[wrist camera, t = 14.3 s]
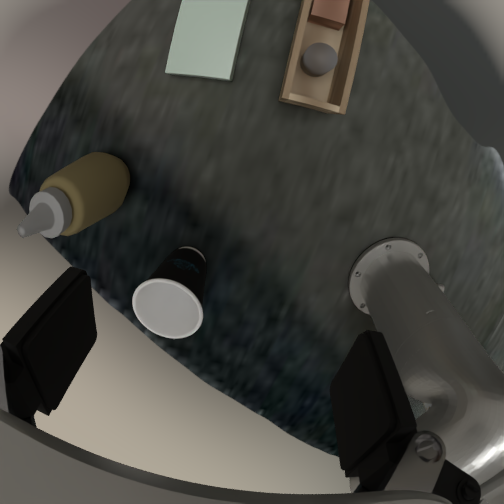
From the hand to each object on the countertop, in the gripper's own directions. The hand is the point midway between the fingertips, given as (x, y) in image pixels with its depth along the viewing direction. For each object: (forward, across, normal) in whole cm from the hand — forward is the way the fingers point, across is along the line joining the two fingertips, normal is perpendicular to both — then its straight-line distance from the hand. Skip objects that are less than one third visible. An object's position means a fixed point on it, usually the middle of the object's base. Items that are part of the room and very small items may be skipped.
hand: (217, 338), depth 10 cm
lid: (+28, +8, -20) cm, 35 cm away
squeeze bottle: (+28, +18, +4) cm, 34 cm away
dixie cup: (+28, +6, +14) cm, 32 cm away
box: (+28, -4, -18) cm, 34 cm away
